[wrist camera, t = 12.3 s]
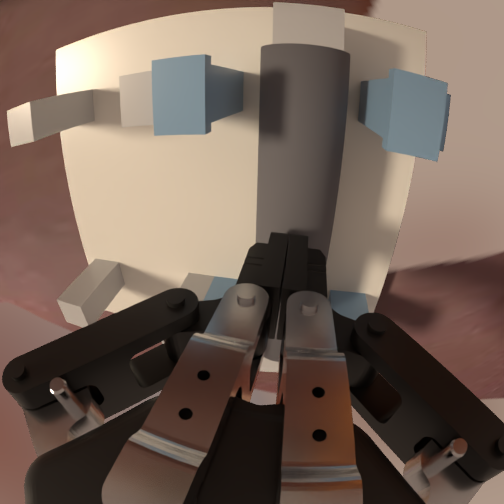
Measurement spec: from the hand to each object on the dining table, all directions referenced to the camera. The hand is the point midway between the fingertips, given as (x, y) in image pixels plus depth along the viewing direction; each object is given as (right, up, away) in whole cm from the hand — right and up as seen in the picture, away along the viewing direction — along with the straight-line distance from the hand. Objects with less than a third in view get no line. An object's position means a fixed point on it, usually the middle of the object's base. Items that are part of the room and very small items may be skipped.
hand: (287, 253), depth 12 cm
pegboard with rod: (-4, +3, +5) cm, 7 cm away
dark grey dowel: (+1, +2, +3) cm, 4 cm away
